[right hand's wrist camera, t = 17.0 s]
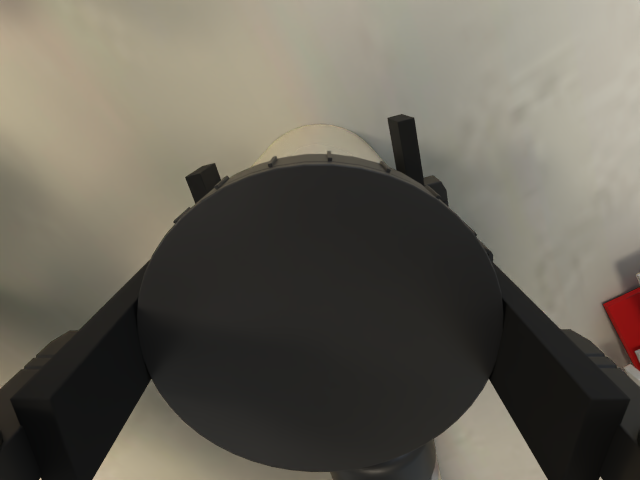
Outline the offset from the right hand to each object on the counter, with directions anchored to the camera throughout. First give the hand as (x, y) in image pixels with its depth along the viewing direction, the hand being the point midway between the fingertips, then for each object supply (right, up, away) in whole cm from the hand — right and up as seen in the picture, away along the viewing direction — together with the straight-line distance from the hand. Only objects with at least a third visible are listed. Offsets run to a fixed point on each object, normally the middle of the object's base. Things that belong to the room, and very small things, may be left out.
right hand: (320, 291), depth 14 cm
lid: (0, -1, -3) cm, 3 cm away
